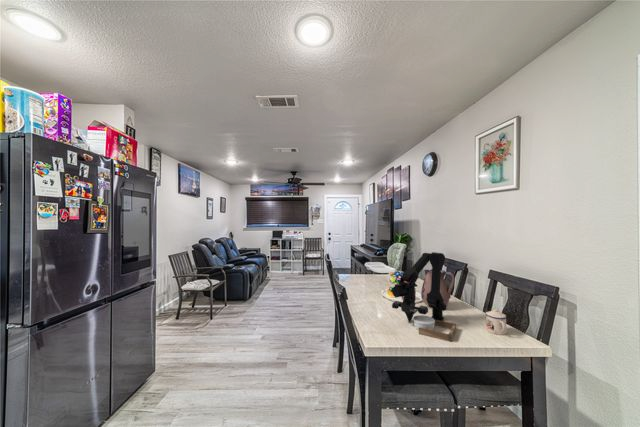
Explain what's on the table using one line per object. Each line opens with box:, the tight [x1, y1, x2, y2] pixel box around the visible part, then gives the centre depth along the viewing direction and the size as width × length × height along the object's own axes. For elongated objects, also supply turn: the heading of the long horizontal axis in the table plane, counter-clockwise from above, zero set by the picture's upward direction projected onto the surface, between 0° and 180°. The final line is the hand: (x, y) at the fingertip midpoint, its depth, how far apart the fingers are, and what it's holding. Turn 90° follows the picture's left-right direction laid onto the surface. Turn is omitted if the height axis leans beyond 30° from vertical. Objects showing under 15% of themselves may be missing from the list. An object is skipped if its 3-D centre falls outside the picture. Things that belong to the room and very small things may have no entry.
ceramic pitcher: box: [420, 268, 456, 309], centre depth 174 cm, size 18×21×25 cm
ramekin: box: [412, 314, 435, 331], centre depth 139 cm, size 11×11×5 cm
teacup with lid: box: [485, 308, 507, 336], centre depth 133 cm, size 12×9×12 cm
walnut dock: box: [418, 319, 458, 343], centre depth 135 cm, size 17×15×3 cm
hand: (409, 322), depth 144 cm, fingers closed
